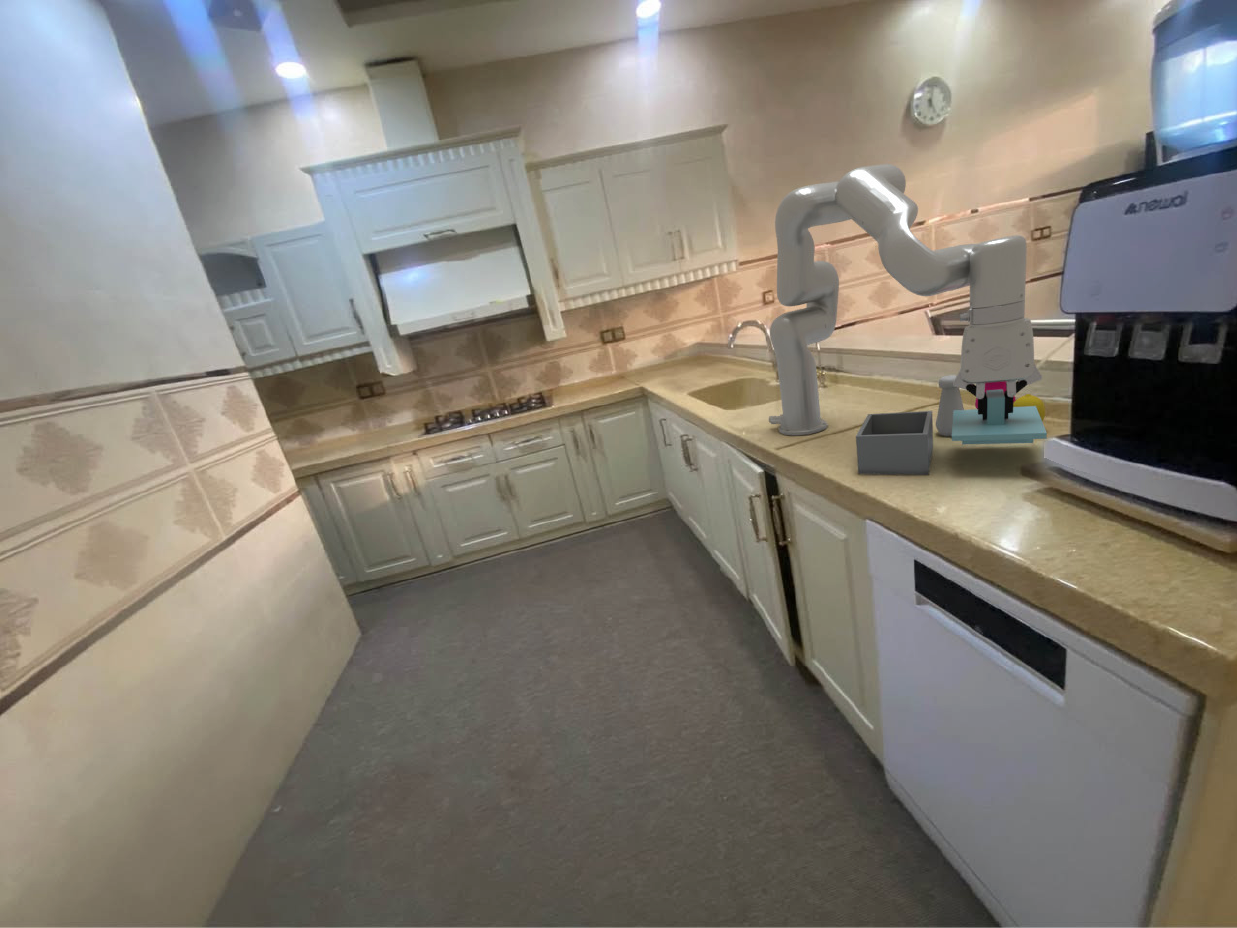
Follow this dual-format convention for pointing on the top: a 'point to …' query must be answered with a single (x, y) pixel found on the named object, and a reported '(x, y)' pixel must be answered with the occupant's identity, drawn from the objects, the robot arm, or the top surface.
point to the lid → (997, 423)
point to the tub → (895, 443)
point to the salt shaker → (948, 405)
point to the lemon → (1031, 404)
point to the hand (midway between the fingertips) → (995, 416)
